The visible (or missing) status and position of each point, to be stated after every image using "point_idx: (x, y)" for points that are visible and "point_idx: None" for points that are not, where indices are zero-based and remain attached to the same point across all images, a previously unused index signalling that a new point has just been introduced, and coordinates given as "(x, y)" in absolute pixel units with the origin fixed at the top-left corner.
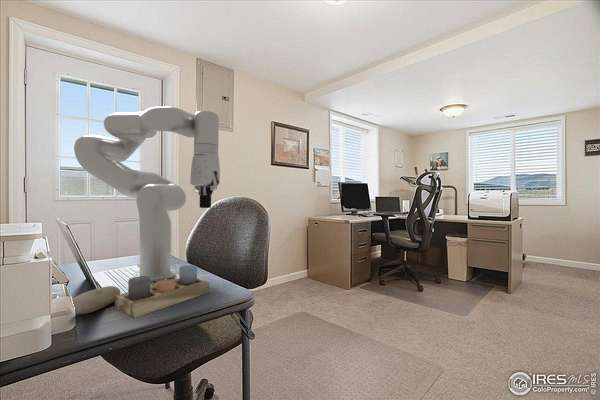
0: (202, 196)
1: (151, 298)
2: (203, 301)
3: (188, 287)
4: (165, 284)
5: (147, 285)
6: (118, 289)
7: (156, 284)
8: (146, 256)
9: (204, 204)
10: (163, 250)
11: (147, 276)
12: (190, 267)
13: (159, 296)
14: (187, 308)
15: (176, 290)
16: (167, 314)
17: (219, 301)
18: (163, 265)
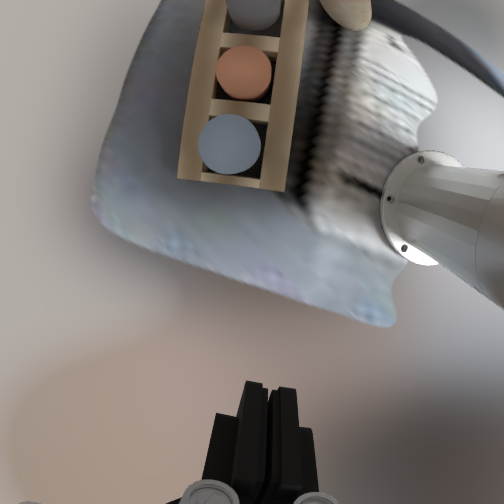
0: (236, 467)
1: (211, 16)
2: (151, 123)
3: (193, 111)
4: (225, 56)
5: (226, 4)
6: (341, 15)
7: (251, 46)
8: (459, 169)
9: (240, 415)
10: (436, 214)
11: (254, 12)
12: (220, 146)
13: (206, 32)
14: (154, 76)
15: (203, 78)
16: (169, 35)
17: (120, 145)
18: (410, 204)
